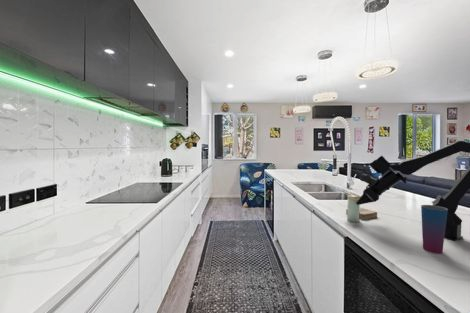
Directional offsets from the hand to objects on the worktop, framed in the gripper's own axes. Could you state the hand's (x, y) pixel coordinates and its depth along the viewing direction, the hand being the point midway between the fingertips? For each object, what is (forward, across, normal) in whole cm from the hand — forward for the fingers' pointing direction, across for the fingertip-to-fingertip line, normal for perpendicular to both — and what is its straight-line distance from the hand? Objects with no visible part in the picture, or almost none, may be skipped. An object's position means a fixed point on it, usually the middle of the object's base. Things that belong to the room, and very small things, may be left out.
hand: (357, 202), depth 106 cm
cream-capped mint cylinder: (+8, 0, +5) cm, 9 cm away
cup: (-11, +19, +24) cm, 33 cm away
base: (+6, -11, +7) cm, 14 cm away
